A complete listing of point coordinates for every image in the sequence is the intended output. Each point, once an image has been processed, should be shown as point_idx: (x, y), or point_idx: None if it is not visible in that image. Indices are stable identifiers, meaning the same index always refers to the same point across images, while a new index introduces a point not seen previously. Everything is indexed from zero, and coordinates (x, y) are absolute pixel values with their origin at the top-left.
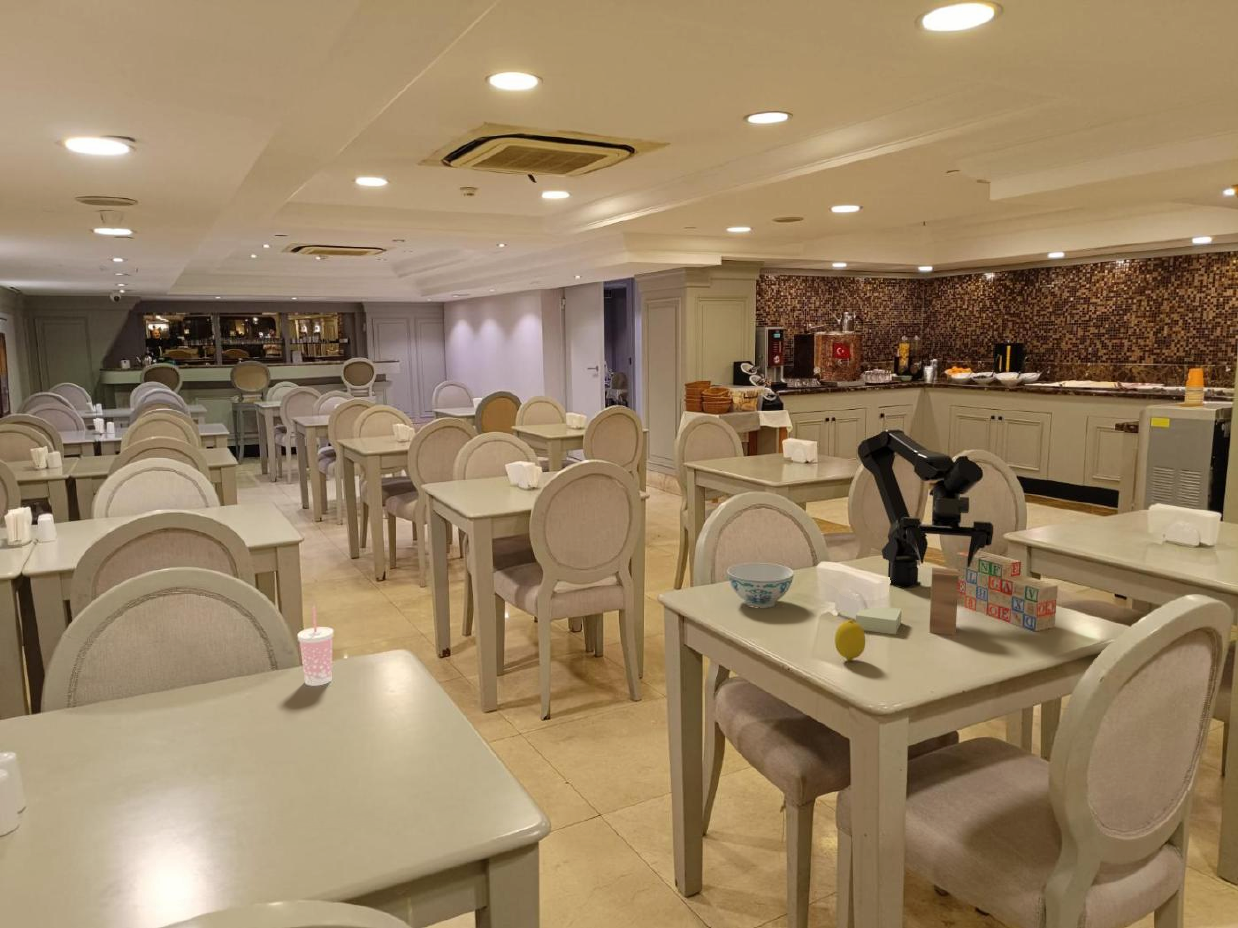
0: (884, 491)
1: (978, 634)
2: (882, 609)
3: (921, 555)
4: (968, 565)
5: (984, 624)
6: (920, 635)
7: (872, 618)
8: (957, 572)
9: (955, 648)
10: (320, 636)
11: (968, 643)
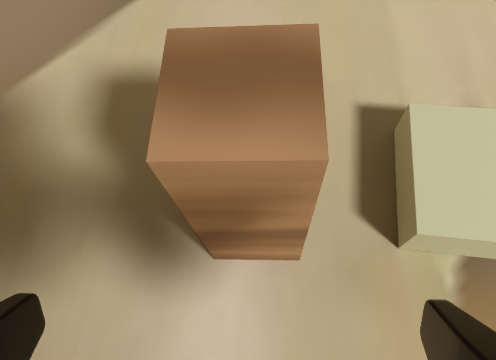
0: None
1: (149, 207)
2: (488, 207)
3: (478, 332)
4: (32, 299)
5: (104, 324)
6: None
7: (490, 111)
8: (163, 88)
9: None
10: None
11: None
